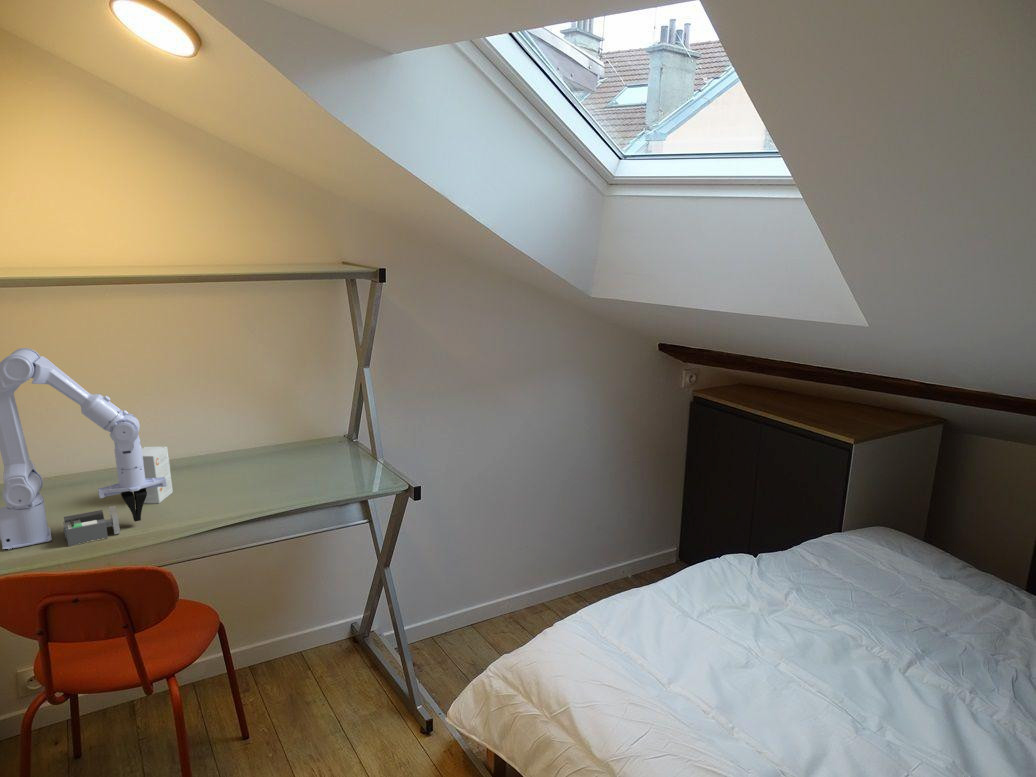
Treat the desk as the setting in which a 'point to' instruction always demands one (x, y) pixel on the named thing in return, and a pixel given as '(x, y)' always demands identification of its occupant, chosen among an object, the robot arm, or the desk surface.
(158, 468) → the small box
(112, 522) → the plunger
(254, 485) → the desk surface
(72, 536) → the gauge housing
